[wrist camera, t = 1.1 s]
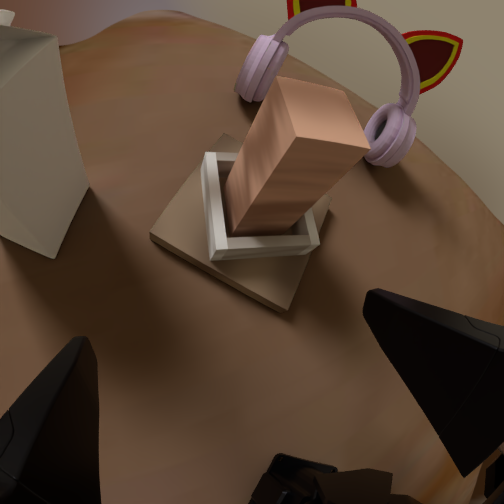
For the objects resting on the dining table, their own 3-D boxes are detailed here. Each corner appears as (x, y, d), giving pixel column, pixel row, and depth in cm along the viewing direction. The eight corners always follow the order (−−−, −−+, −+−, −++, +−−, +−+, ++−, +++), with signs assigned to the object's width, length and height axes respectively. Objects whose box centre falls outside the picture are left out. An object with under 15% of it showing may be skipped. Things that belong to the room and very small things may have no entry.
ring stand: (324, 204, 29) (382, 151, 20) (280, 313, 24) (348, 287, 15) (220, 142, 27) (248, 68, 19) (149, 238, 22) (148, 170, 14)
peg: (281, 235, 24) (371, 149, 13) (230, 237, 23) (296, 136, 12) (272, 188, 26) (343, 91, 15) (223, 187, 24) (275, 75, 13)
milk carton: (55, 261, 19) (-78, 68, 2) (-3, 234, 18) (-120, 77, 1) (90, 186, 22) (56, -31, 5) (32, 167, 21) (-26, -11, 4)
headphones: (225, 108, 29) (295, -56, 11) (250, 68, 33) (310, -57, 15) (376, 183, 33) (496, 81, 15) (377, 133, 37) (466, 42, 19)
